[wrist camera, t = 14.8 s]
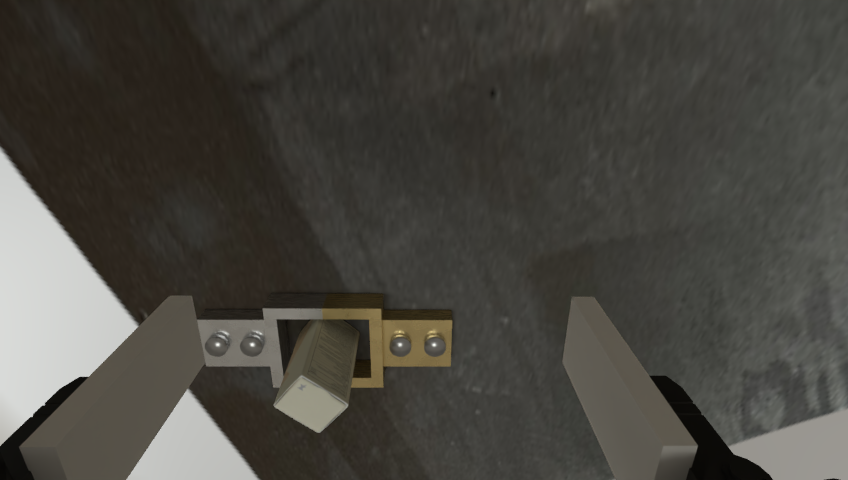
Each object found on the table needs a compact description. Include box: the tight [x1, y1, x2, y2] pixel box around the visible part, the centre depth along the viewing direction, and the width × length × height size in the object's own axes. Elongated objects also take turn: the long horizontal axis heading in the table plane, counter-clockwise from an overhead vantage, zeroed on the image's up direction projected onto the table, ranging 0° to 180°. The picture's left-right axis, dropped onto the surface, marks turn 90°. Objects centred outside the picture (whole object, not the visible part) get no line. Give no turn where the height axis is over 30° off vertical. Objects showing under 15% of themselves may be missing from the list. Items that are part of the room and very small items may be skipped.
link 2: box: [322, 294, 452, 387], centre depth 49 cm, size 13×9×3 cm
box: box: [274, 319, 360, 433], centre depth 45 cm, size 5×4×11 cm
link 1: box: [197, 293, 327, 387], centre depth 49 cm, size 13×9×3 cm
